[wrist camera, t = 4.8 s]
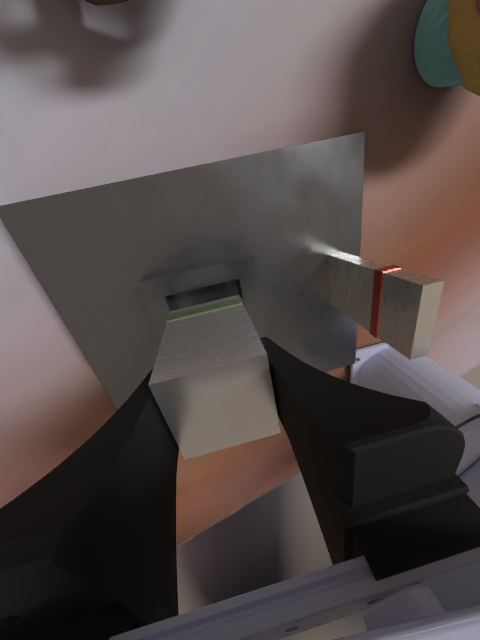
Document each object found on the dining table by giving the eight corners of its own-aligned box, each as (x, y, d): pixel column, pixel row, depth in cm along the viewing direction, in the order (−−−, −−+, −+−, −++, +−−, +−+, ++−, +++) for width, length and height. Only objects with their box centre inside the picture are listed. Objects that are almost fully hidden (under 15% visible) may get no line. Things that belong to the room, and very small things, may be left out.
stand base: (349, 357, 23) (430, 436, 15) (130, 416, 22) (89, 537, 14) (355, 136, 15) (538, 46, 7) (7, 207, 14) (-271, 200, 6)
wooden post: (251, 351, 15) (281, 433, 9) (189, 367, 15) (184, 460, 9) (239, 293, 13) (268, 352, 8) (169, 310, 13) (146, 384, 7)
